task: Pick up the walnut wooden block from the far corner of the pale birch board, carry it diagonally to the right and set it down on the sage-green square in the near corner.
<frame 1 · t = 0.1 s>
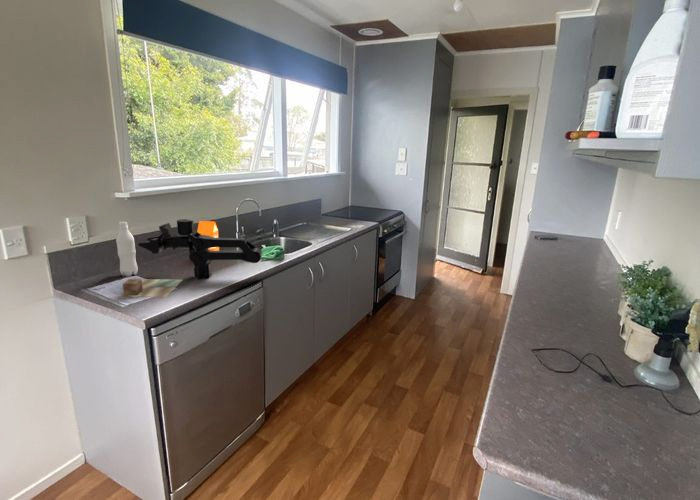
hand: (143, 241, 168), 17 cm above the counter, tool horizontal, fingers open, 9 cm apart
walnut block: (133, 292, 150), point 1 cm above the counter, touching birch board
water bottle: (129, 275, 173), on the counter
orange juice: (209, 257, 206), on the counter
birch board: (152, 289, 157), on the counter
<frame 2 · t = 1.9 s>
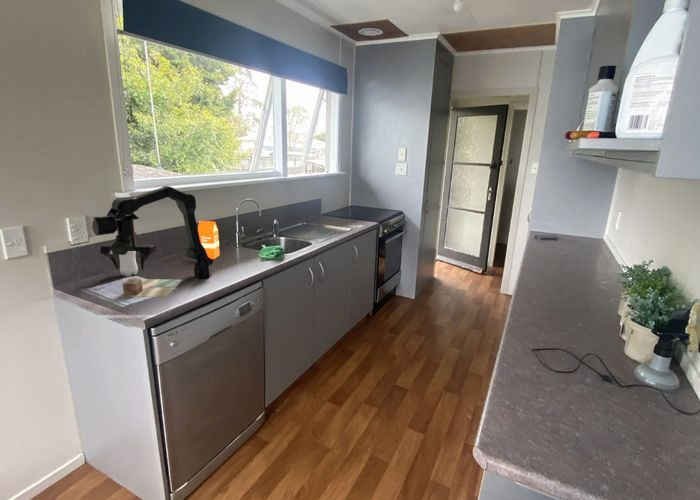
hand: (130, 269, 148), 11 cm above the counter, tool pointing down, fingers open, 9 cm apart
nothing on the counter moved.
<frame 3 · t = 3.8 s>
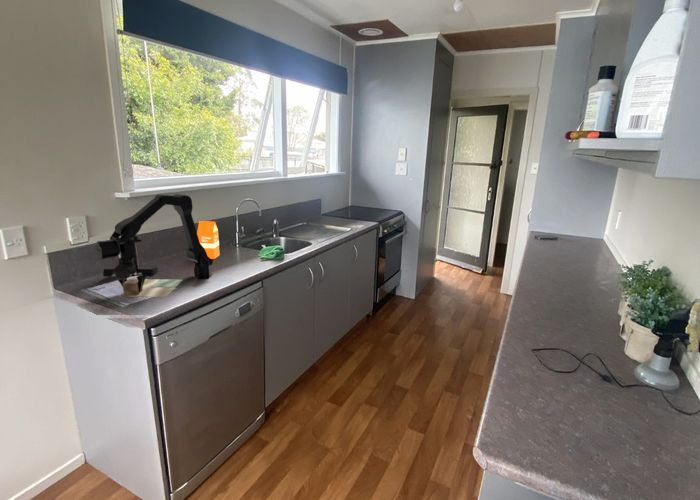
hand: (133, 291, 150), 2 cm above the counter, tool pointing down, fingers closed on walnut block, 5 cm apart
walnut block: (133, 292, 150), point 1 cm above the counter, touching birch board, gripper
everything else where it was.
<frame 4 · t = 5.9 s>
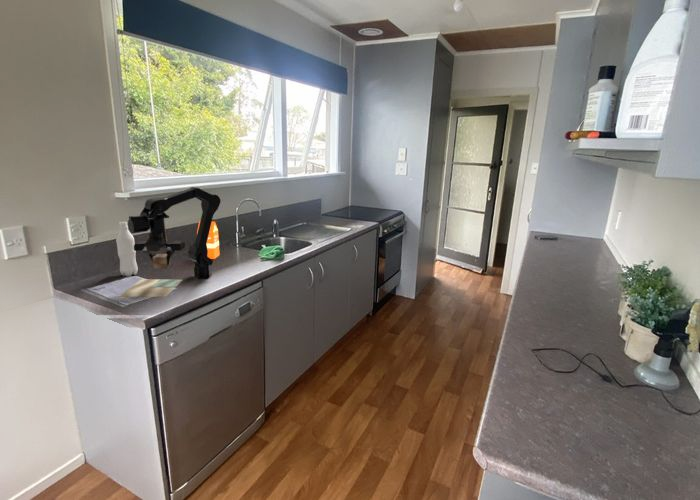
hand: (162, 265, 158), 10 cm above the counter, tool pointing down, fingers closed on walnut block, 5 cm apart
walnut block: (162, 266, 159), point 9 cm above the counter, touching gripper
everything else where it was.
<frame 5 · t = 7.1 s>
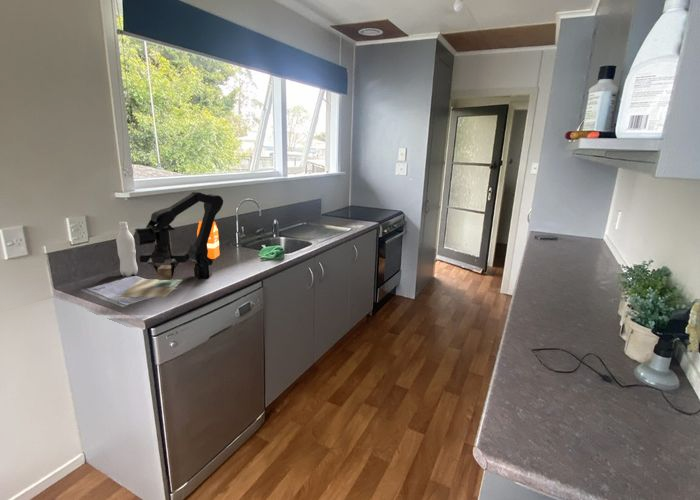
hand: (166, 276, 161), 4 cm above the counter, tool pointing down, fingers closed on walnut block, 5 cm apart
walnut block: (166, 278, 161), point 4 cm above the counter, touching gripper
everything else where it was.
when the fingers open (3 cm above the counter, at t = 8.1 s): walnut block drops 2 cm, resting on birch board.
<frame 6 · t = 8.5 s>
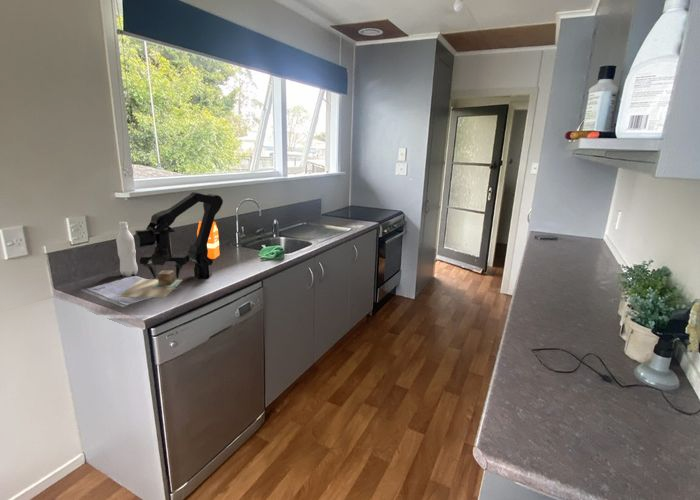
hand: (166, 278, 161), 3 cm above the counter, tool pointing down, fingers open, 9 cm apart
walnut block: (167, 283, 162), point 1 cm above the counter, touching birch board
everything else where it was.
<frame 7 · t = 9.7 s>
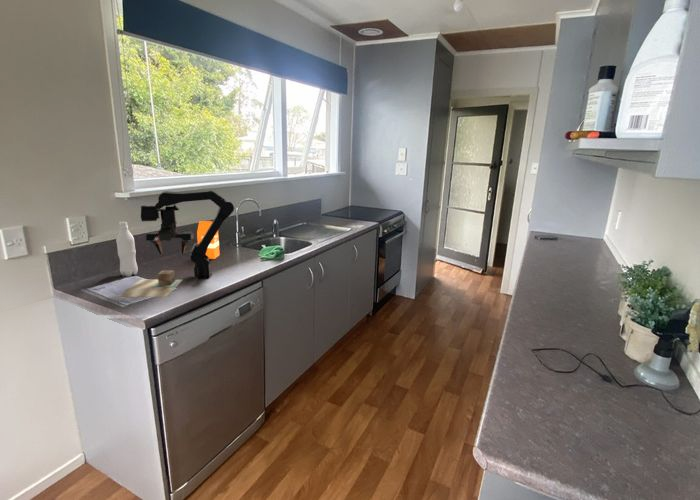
hand: (172, 254, 167), 12 cm above the counter, tool pointing down, fingers open, 9 cm apart
nothing on the counter moved.
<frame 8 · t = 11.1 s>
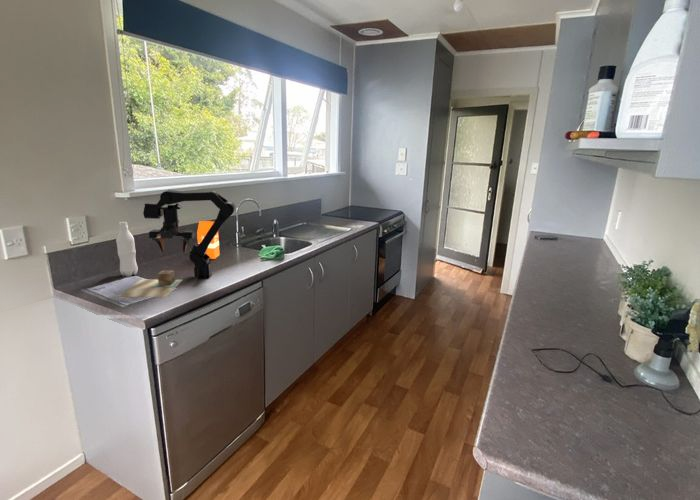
hand: (173, 252, 169), 12 cm above the counter, tool pointing down, fingers open, 9 cm apart
nothing on the counter moved.
at the end: walnut block 0.0 cm from the target spot, point 1.2 cm above the counter; walnut block tilted 0°; the gripper is holding nothing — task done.
